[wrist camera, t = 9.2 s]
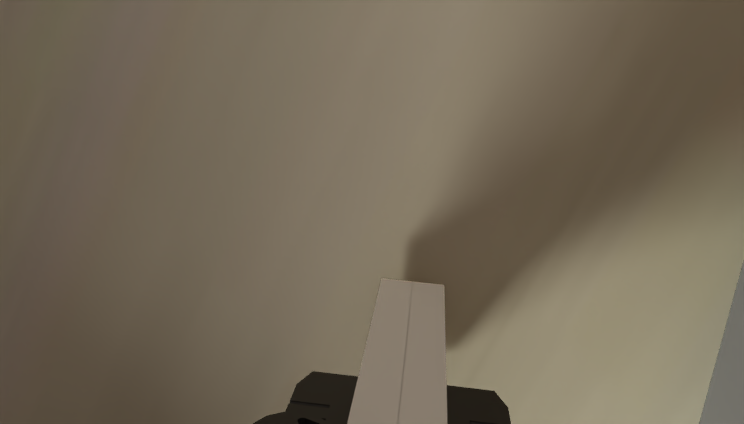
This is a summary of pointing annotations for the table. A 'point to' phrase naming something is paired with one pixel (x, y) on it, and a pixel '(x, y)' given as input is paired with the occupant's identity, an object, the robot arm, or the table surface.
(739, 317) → the gray block
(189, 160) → the table surface
